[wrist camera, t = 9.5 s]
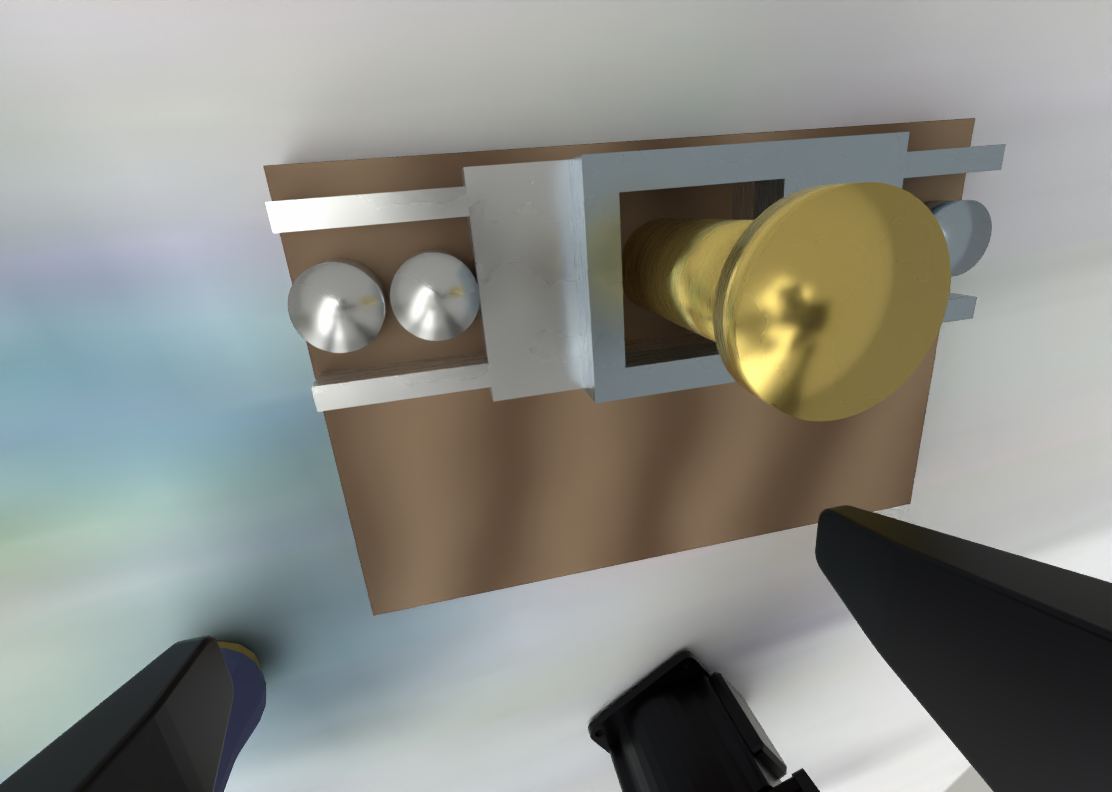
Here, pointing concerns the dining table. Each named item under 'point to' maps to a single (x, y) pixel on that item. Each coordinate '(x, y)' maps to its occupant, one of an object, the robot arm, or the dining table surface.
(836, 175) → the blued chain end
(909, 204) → the pin
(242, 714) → the rubber mallet
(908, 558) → the robot arm
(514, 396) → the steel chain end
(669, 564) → the dining table surface
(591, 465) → the board
